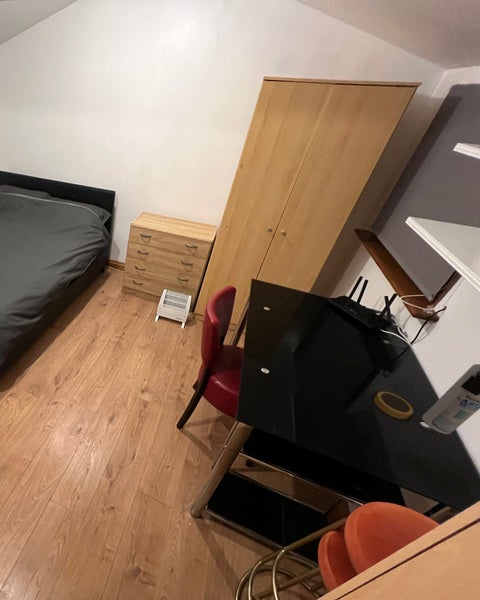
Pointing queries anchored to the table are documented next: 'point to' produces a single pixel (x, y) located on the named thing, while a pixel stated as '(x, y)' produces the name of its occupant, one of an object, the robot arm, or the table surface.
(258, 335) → the table surface
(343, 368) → the table surface
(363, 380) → the table surface
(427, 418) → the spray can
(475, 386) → the robot arm
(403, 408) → the stand
